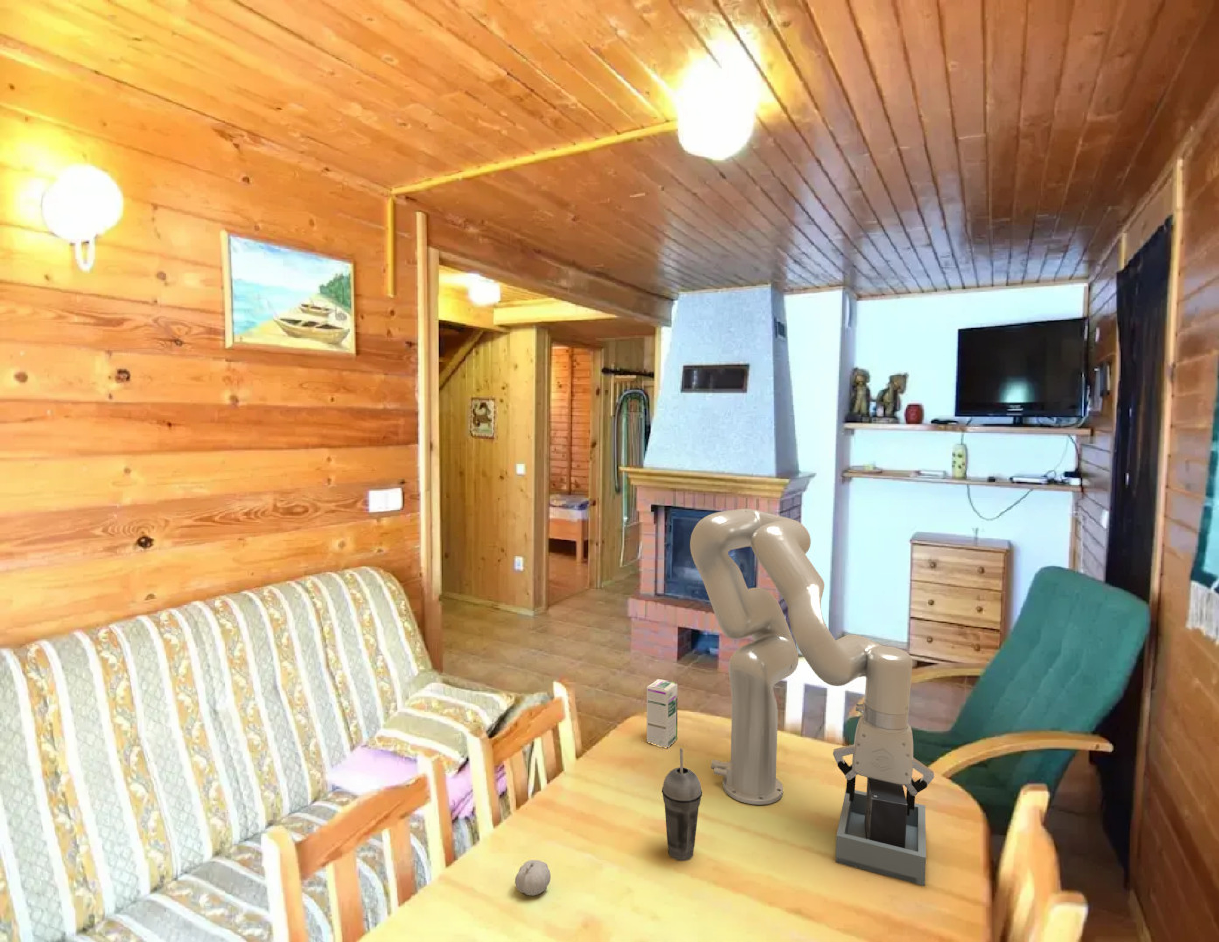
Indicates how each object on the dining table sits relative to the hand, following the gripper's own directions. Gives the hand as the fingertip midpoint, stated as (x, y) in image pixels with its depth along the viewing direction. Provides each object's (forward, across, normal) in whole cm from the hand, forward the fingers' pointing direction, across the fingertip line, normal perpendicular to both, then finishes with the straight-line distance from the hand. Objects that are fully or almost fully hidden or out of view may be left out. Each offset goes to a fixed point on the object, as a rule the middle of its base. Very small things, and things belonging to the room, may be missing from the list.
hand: (879, 804), depth 125 cm
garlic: (+9, -51, -38) cm, 64 cm away
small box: (+7, +1, 0) cm, 7 cm away
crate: (+8, +1, 0) cm, 8 cm away
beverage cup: (+9, -32, -18) cm, 38 cm away
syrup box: (+10, -50, +21) cm, 55 cm away
